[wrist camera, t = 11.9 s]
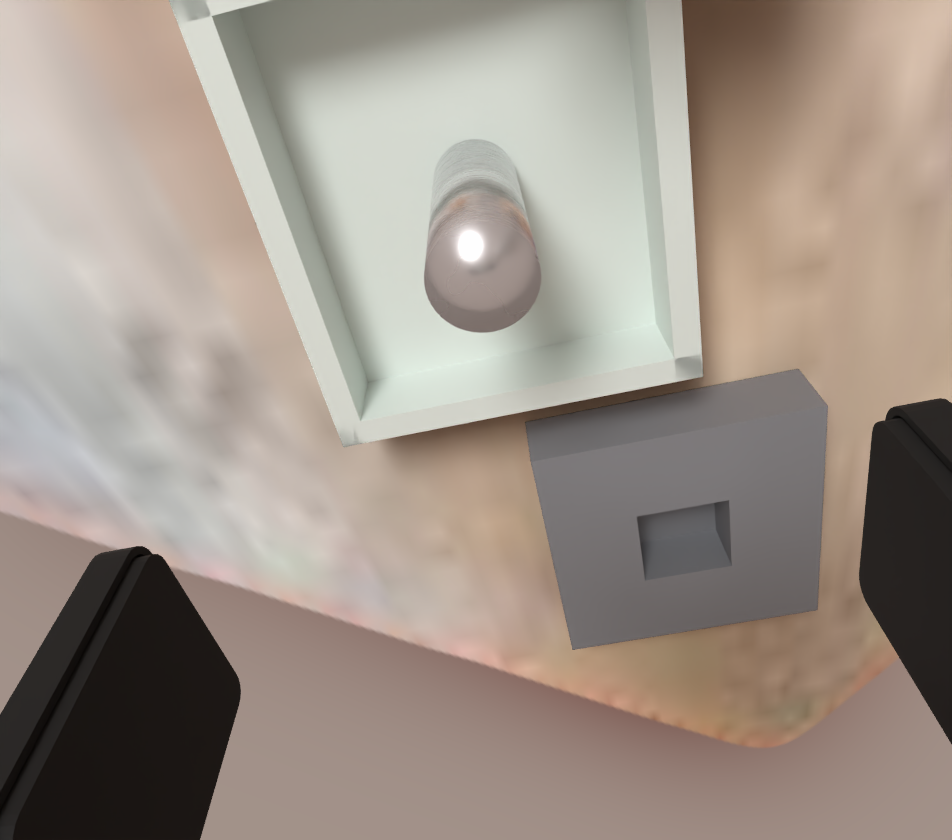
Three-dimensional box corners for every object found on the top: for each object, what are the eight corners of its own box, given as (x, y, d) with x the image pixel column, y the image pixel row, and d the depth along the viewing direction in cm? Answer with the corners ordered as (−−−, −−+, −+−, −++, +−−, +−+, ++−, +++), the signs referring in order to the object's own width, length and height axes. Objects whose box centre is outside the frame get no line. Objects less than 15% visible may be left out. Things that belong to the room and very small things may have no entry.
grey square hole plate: (798, 368, 32) (828, 405, 29) (793, 566, 38) (817, 610, 36) (525, 422, 33) (530, 461, 30) (565, 604, 39) (572, 649, 37)
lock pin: (508, 130, 25) (530, 210, 18) (523, 214, 27) (550, 320, 19) (423, 149, 26) (410, 236, 18) (444, 231, 27) (439, 342, 20)
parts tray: (641, -139, 22) (672, -152, 19) (677, 331, 31) (703, 376, 27) (202, -22, 23) (162, -16, 20) (354, 396, 32) (343, 447, 29)
